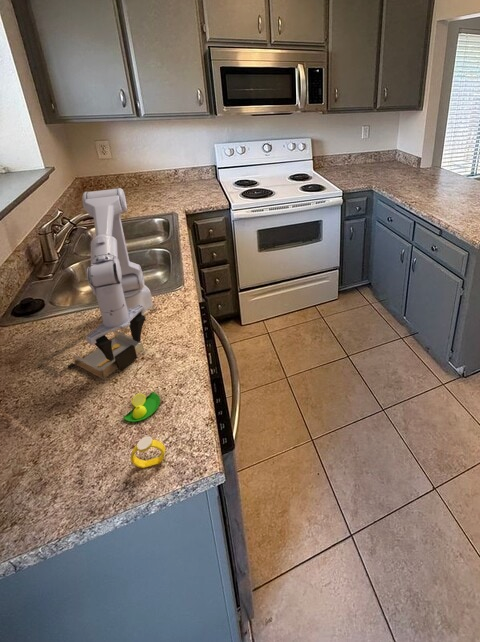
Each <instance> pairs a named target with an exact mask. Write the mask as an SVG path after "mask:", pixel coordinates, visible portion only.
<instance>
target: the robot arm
mask: <svg viewBox="0 0 480 642" xmlns="http://www.w3.org/2000/svg"><path fill="white" fill-rule="evenodd" d="M81 199H82V206H83V209H84V211H85V212H86V213H87V214H88V216H89V217H92V218H93V223H94V231H95V237H94V238H93V239H92V240H90V266H88V267H87V268H86V277H87V282H88V285H89V287H90V288H91V291H92V293H93V295H94V296H96V301H97V305H98V308H99V312H100V316H101V320H102V322H101V323H100V324H99V325H98V326H97V327H96V328H95V329H93V330H92V331H91V332H90V333H89V334H87V335H86V336H85V339H86V342H87V344H89V345H91V346H94V345H95V347H97V349H100V350H101V351H102V352H103V354H104V355H105V357H106V359H108V360H110V361H112V360H114V356H113V352H112V341H111V340H112V339H109V338H108V336H106V335H109V334H110V333H113V331H115V330H116V331H119V330H120V329H126V328H128V327H129V330H130V334H131V337H132V338H133V340H134V341H137V342H139V341H141V337H142V329H143V326H144V324H145V322H146V316H145V315H144V314H145V313H146V312H147V311H149V310H150V309H152V308H154V301H153V296H152V293H151V290H150V288H149V287H148V285H146V284H145V276H144V273H143V270H142V267H141V265H140V264H138V263H135V262H133V261H130V257H129V252H128V251H129V250H128V247H127V241H126V238H125V233H124V228H123V224H122V223H123V222H122V215H123V214H124V213H126V212H128V204H127V199H126V195H125V191H124V189H122V188H121V187H118V188H112V189H102V190H101V189H100V190H94V191H93V190H92V191H84V192H83V194H82V198H81Z"/></svg>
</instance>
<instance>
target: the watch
mask: <svg viewBox="0 0 480 642" xmlns="http://www.w3.org/2000/svg"><path fill="white" fill-rule="evenodd" d="M151 448H153V449H154V448H155V449H157V450H159V451H160V453H161V454H160V455H159V456H158V457H155V458H151V459H147V460H144V459H140V458H139V457H137V456H136V453H137V452H140V453H144V452H146V451H148V450H150V449H151ZM165 453H166V446H165V445H164V443H163V442H161V441H160V440H157V439H153V437H152V436H148V435H147V436H144V437H142V438H141V439H139V441H137V444H136V445H135V446H133V449H132V451H131V454H130V461H131V464H133V465H134V466H136V467H137V468H141V469H146V468H148V467H153V466H156V465H160V463H162V461H163V460H164V457H165Z"/></svg>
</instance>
